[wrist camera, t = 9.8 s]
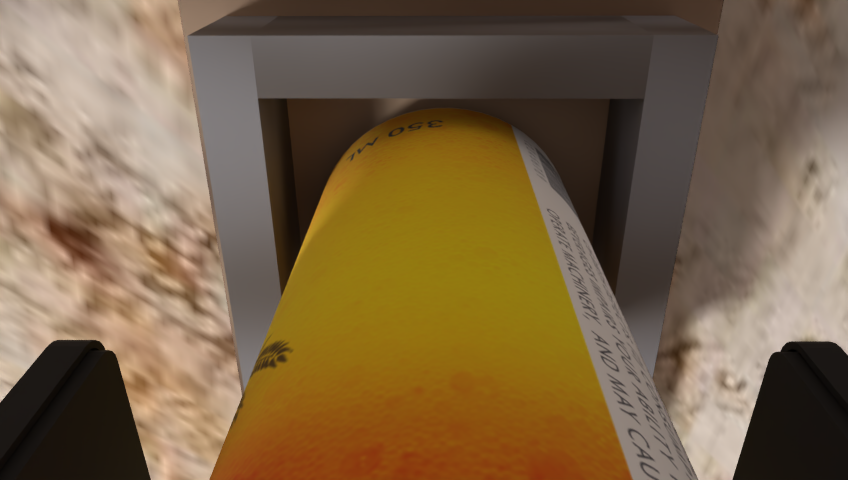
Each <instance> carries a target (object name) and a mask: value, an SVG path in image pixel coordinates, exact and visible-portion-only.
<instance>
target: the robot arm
mask: <svg viewBox="0 0 848 480" xmlns="http://www.w3.org/2000/svg"><path fill="white" fill-rule="evenodd" d="M0 480H151V479H150V475H149V472H148V468H147V464H146V461H145V457H144V454H143V450H142V446H141V443H140V439H139V436H138V432H137V429H136V425H135V421H134V418H133V414H132V411H131V407H130V403H129V400H128V396H127V393H126V389H125V385H124V382H123V378H122V375H121V371H120V368H119V364H118V360H117V358H116V355H115V354H114V352H113V351H109V350H105V348H104V346H103V345H102V343H101V342H100V341H96V340H57V341H54V342H52V343H51V344H50V345H48V346H47V348H46V349H45V350H44V351H43V352H42V354H41V355H40V356H39V357H38V358H37V360H36V361H35V362H34V363H33V364H32V365H31V367H30V368H29V369H28V370H27V371H26V373H25V374H24V375H23V376H22V377H21V379H20V380H19V381H18V382H17V383H16V385H15V386H14V387H13V388H12V389H11V391H10V392H9V393H8V394H7V395H6V397H5V398H4V399H3V400H2V401H1V403H0ZM733 480H848V355H847V354H846V353H845V352H844V351H843V350H842V348H841V347H839V346H838V345H837V344H836V343H833V342H788V343H786V344H785V345H784V346H783V347H782V350H781V352H775V353H773V354H772V355H771V357H770V359H769V362H768V365H767V368H766V371H765V375H764V378H763V381H762V385H761V388H760V391H759V394H758V398H757V401H756V404H755V408H754V411H753V414H752V417H751V421H750V424H749V427H748V431H747V434H746V437H745V440H744V444H743V447H742V450H741V454H740V457H739V460H738V464H737V467H736V470H735V473H734V477H733Z"/></svg>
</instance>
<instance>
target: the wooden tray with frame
mask: <svg viewBox="0 0 848 480" xmlns="http://www.w3.org/2000/svg"><path fill="white" fill-rule="evenodd" d="M723 1H724V0H178V4H179V10H180V16H181V22H182V28H183V35H184V41H185V47H186V53H187V59H188V65H189V71H190V77H191V84H192V90H193V96H194V102H195V108H196V114H197V120H198V127H199V133H200V139H201V145H202V151H203V157H204V163H205V169H206V176H207V182H208V188H209V194H210V200H211V206H212V212H213V219H214V225H215V231H216V237H217V243H218V249H219V255H220V261H221V268H222V274H223V280H224V286H225V292H226V298H227V304H228V311H229V317H230V323H231V329H232V335H233V341H234V347H235V353H236V360H237V366H238V372H239V378H240V384H241V390H242V396H243V394H244V391H245V389H246V386H247V383H248V381H249V378H250V376H251V373H252V371H253V368H254V366H255V363H256V361H257V358H258V356H259V353H260V351H261V348H262V345H263V343H264V340H265V338H266V335H267V333H268V330H269V328H270V325H271V323H272V320H273V318H274V315H275V313H276V310H277V307H278V305H279V302H280V300H281V297H282V295H283V292H284V290H285V287H286V285H287V282H288V280H289V277H290V275H291V272H292V269H293V267H294V264H295V262H296V259H297V257H298V254H299V252H300V249H301V247H302V244H303V242H304V239H305V237H306V234H307V231H308V229H309V226H310V224H311V221H312V219H313V216H314V214H315V211H316V209H317V206H318V204H319V201H320V199H321V196H322V194H323V191H324V188H325V186H326V183H327V181H328V178H329V176H330V175H331V173H332V171H333V169H334V167H335V165H336V164H337V163H338V161H339V160H340V158H341V157H342V155H343V154H344V153H345V152H346V151H347V150H348V149H349V148H350V146H351V145H352V144H353V143H354V142H356V141H357V140H358V139H359V138H360V137H361V136H363V135H364V134H365V133H367V132H368V131H370V130H371V129H373V128H374V127H376V126H377V125H379V124H381V123H383V122H385V121H387V120H389V119H391V118H394V117H397V116H399V115H402V114H405V113H409V112H413V111H417V110H422V109H430V108H459V109H468V110H473V111H477V112H482V113H485V114H488V115H490V116H493V117H496V118H499V119H501V120H503V121H505V122H507V123H509V124H511V125H512V126H514V127H516V128H517V129H519V130H520V131H522V132H523V133H525V134H526V135H527V136H528V137H529V138H531V139H532V140H533V141H534V142H535V143H536V144H537V145H538V146H539V147H540V148H541V149H542V150H543V151H544V152H545V154H546V155H547V156H548V158H549V159H550V161H551V162H552V163H553V165H554V167H555V169H556V171H557V172H558V174H559V176H560V178H561V180H562V183H563V185H564V187H565V189H566V191H567V193H568V196H569V198H570V200H571V202H572V204H573V207H574V209H575V211H576V213H577V215H578V218H579V220H580V222H581V224H582V226H583V229H584V231H585V233H586V235H587V237H588V239H589V242H590V244H591V246H592V248H593V250H594V253H595V255H596V257H597V259H598V261H599V264H600V266H601V268H602V270H603V272H604V275H605V277H606V279H607V281H608V283H609V285H610V288H611V290H612V292H613V294H614V296H615V299H616V301H617V303H618V305H619V307H620V310H621V312H622V314H623V316H624V318H625V321H626V323H627V325H628V327H629V329H630V331H631V334H632V336H633V338H634V340H635V342H636V345H637V347H638V349H639V351H640V353H641V356H642V358H643V360H644V362H645V364H646V366H647V369H648V371H649V373H650V375H651V377H652V378H653V373H654V368H655V363H656V358H657V352H658V347H659V342H660V337H661V332H662V326H663V321H664V316H665V311H666V306H667V300H668V295H669V290H670V285H671V280H672V274H673V269H674V264H675V259H676V254H677V248H678V243H679V238H680V233H681V228H682V222H683V217H684V212H685V207H686V202H687V196H688V191H689V186H690V181H691V176H692V170H693V165H694V160H695V155H696V150H697V144H698V139H699V134H700V129H701V124H702V118H703V113H704V108H705V103H706V98H707V92H708V87H709V82H710V77H711V72H712V66H713V61H714V56H715V51H716V46H717V40H718V35H717V33H718V27H719V22H720V17H721V12H722V6H723Z"/></svg>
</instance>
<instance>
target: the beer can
mask: <svg viewBox="0 0 848 480" xmlns="http://www.w3.org/2000/svg"><path fill="white" fill-rule="evenodd" d="M210 480H698V478H697V476H696V474H695V472H694V469H693V467H692V465H691V463H690V461H689V458H688V456H687V454H686V452H685V450H684V448H683V445H682V443H681V441H680V439H679V437H678V434H677V432H676V430H675V428H674V426H673V423H672V421H671V419H670V417H669V415H668V412H667V410H666V408H665V406H664V404H663V402H662V399H661V397H660V395H659V393H658V391H657V388H656V386H655V384H654V382H653V380H652V377H651V375H650V373H649V371H648V369H647V366H646V364H645V362H644V360H643V358H642V356H641V353H640V351H639V349H638V347H637V345H636V342H635V340H634V338H633V336H632V334H631V331H630V329H629V327H628V325H627V323H626V321H625V318H624V316H623V314H622V312H621V310H620V307H619V305H618V303H617V301H616V299H615V296H614V294H613V292H612V290H611V288H610V285H609V283H608V281H607V279H606V277H605V275H604V272H603V270H602V268H601V266H600V264H599V261H598V259H597V257H596V255H595V253H594V250H593V248H592V246H591V244H590V242H589V239H588V237H587V235H586V233H585V231H584V229H583V226H582V224H581V222H580V220H579V218H578V215H577V213H576V211H575V209H574V207H573V204H572V202H571V200H570V198H569V196H568V193H567V191H566V189H565V187H564V185H563V183H562V180H561V178H560V176H559V174H558V172H557V171H556V169H555V167H554V165H553V163H552V162H551V161H550V159H549V158H548V156H547V155H546V154H545V152H544V151H543V150H542V149H541V148H540V147H539V146H538V145H537V144H536V143H535V142H534V141H533V140H532V139H531V138H529V137H528V136H527V135H526V134H525V133H523V132H522V131H520V130H519V129H517V128H516V127H514V126H512V125H511V124H509V123H507V122H505V121H503V120H501V119H499V118H496V117H493V116H490V115H488V114H485V113H482V112H477V111H473V110H468V109H459V108H430V109H422V110H417V111H413V112H409V113H405V114H402V115H399V116H397V117H394V118H391V119H389V120H387V121H385V122H383V123H381V124H379V125H377V126H376V127H374V128H373V129H371V130H370V131H368V132H367V133H365V134H364V135H363V136H361V137H360V138H359V139H358V140H357V141H356V142H354V143H353V144H352V145H351V146H350V148H349V149H348V150H347V151H346V152H345V153H344V154H343V155H342V157H341V158H340V160H339V161H338V163H337V164H336V165H335V167H334V169H333V171H332V173H331V175H330V176H329V178H328V181H327V183H326V186H325V188H324V191H323V194H322V196H321V199H320V201H319V204H318V206H317V209H316V211H315V214H314V216H313V219H312V221H311V224H310V226H309V229H308V231H307V234H306V237H305V239H304V242H303V244H302V247H301V249H300V252H299V254H298V257H297V259H296V262H295V264H294V267H293V269H292V272H291V275H290V277H289V280H288V282H287V285H286V287H285V290H284V292H283V295H282V297H281V300H280V302H279V305H278V307H277V310H276V313H275V315H274V318H273V320H272V323H271V325H270V328H269V330H268V333H267V335H266V338H265V340H264V343H263V345H262V348H261V351H260V353H259V356H258V358H257V361H256V363H255V366H254V368H253V371H252V373H251V376H250V378H249V381H248V383H247V386H246V389H245V391H244V394H243V396H242V399H241V401H240V404H239V406H238V409H237V411H236V414H235V416H234V419H233V421H232V424H231V427H230V429H229V432H228V434H227V437H226V439H225V442H224V444H223V447H222V449H221V452H220V454H219V457H218V459H217V462H216V465H215V467H214V470H213V472H212V475H211V477H210Z"/></svg>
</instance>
